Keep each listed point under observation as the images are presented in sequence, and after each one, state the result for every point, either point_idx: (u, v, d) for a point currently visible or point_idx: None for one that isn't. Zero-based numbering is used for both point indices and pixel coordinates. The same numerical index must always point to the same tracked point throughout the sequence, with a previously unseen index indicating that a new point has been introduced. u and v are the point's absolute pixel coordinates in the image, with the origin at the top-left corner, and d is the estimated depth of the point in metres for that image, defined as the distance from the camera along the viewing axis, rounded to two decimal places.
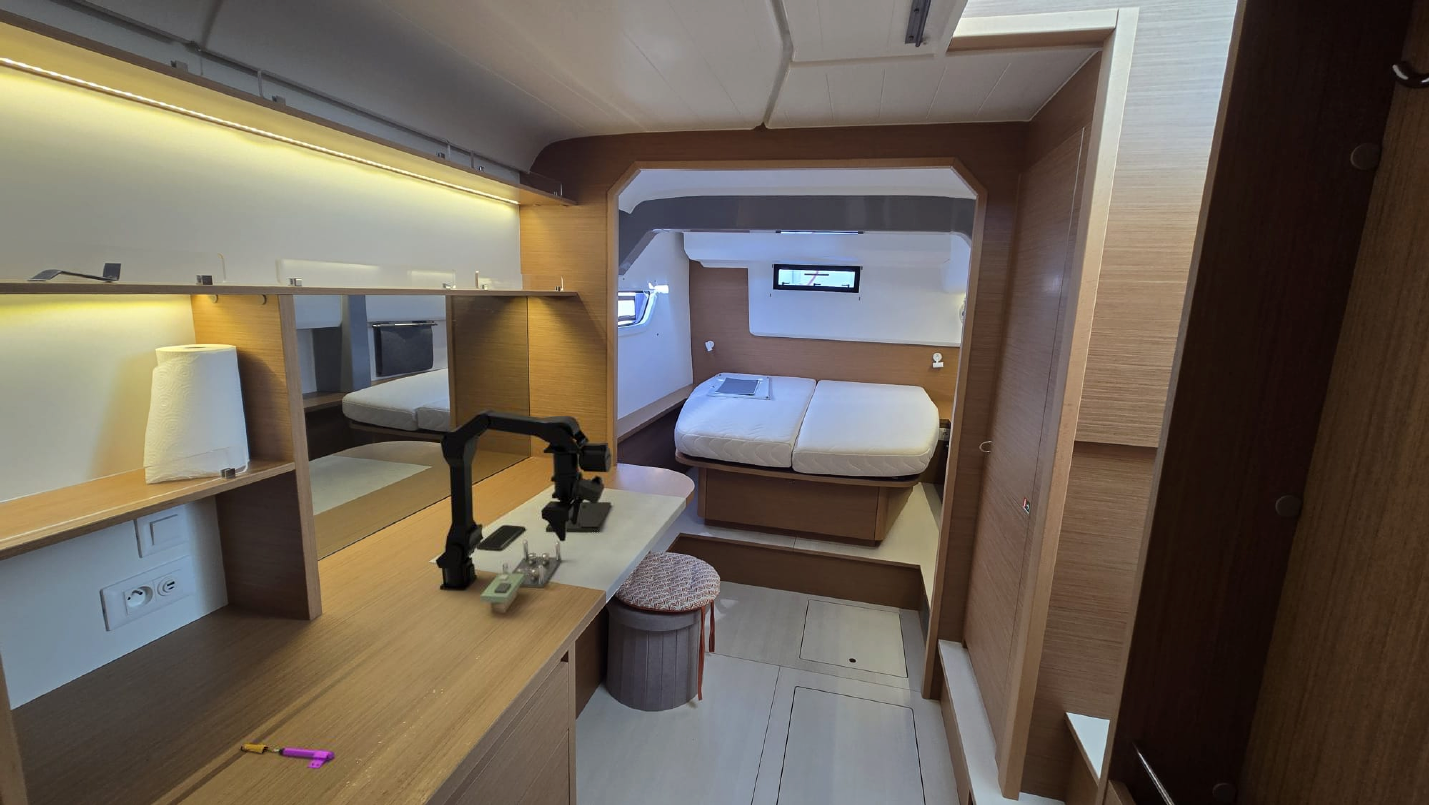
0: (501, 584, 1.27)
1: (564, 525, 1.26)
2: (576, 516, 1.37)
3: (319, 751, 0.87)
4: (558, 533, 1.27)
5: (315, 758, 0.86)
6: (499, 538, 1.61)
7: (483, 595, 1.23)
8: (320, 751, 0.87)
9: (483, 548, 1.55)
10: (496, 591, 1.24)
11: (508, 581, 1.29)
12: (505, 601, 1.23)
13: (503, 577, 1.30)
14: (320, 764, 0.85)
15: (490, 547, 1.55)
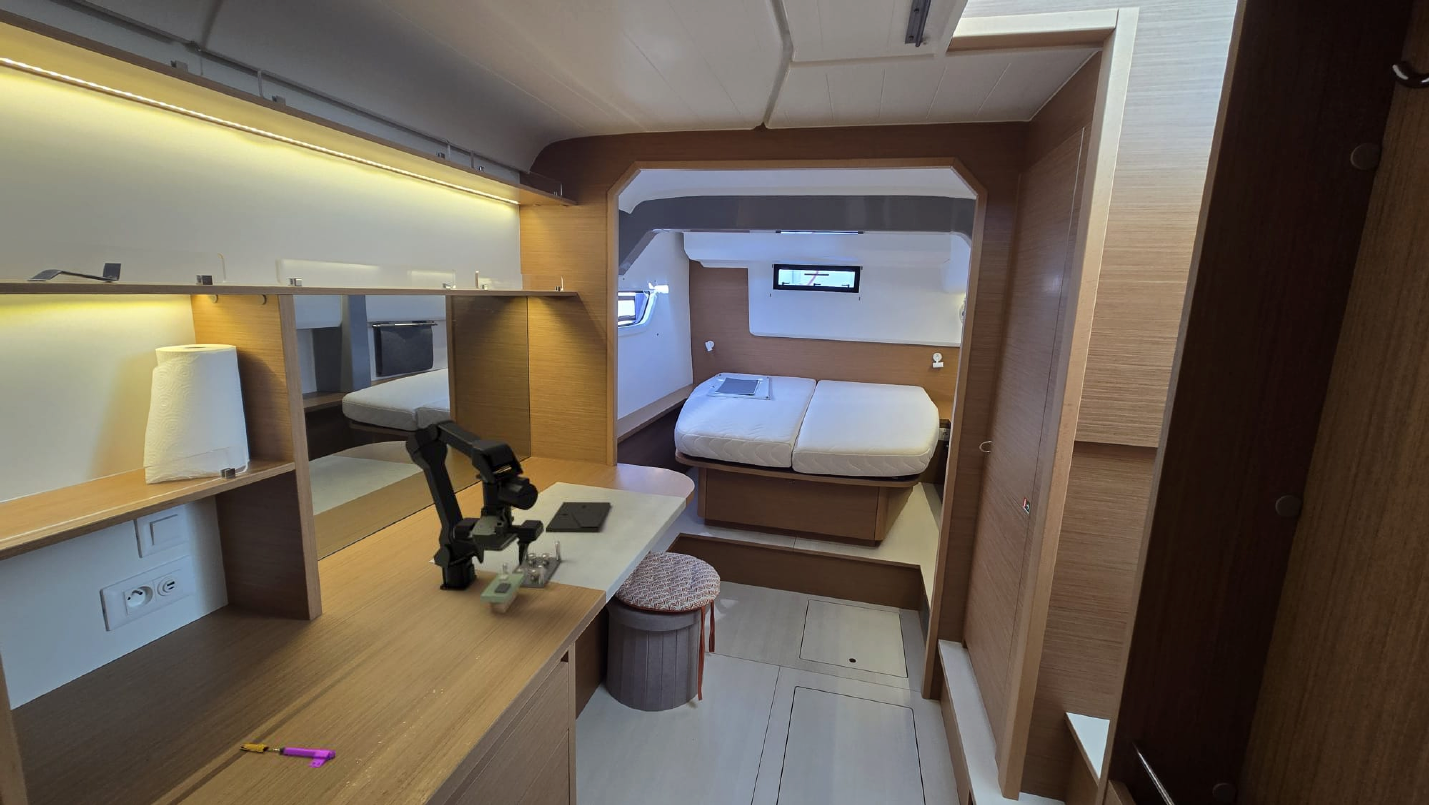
0: (501, 584, 1.27)
1: None
2: None
3: (320, 750, 0.87)
4: None
5: (316, 757, 0.86)
6: None
7: (483, 595, 1.23)
8: (321, 750, 0.87)
9: None
10: (496, 591, 1.24)
11: (508, 581, 1.29)
12: (505, 601, 1.23)
13: (503, 577, 1.30)
14: (321, 763, 0.85)
15: (490, 547, 1.55)
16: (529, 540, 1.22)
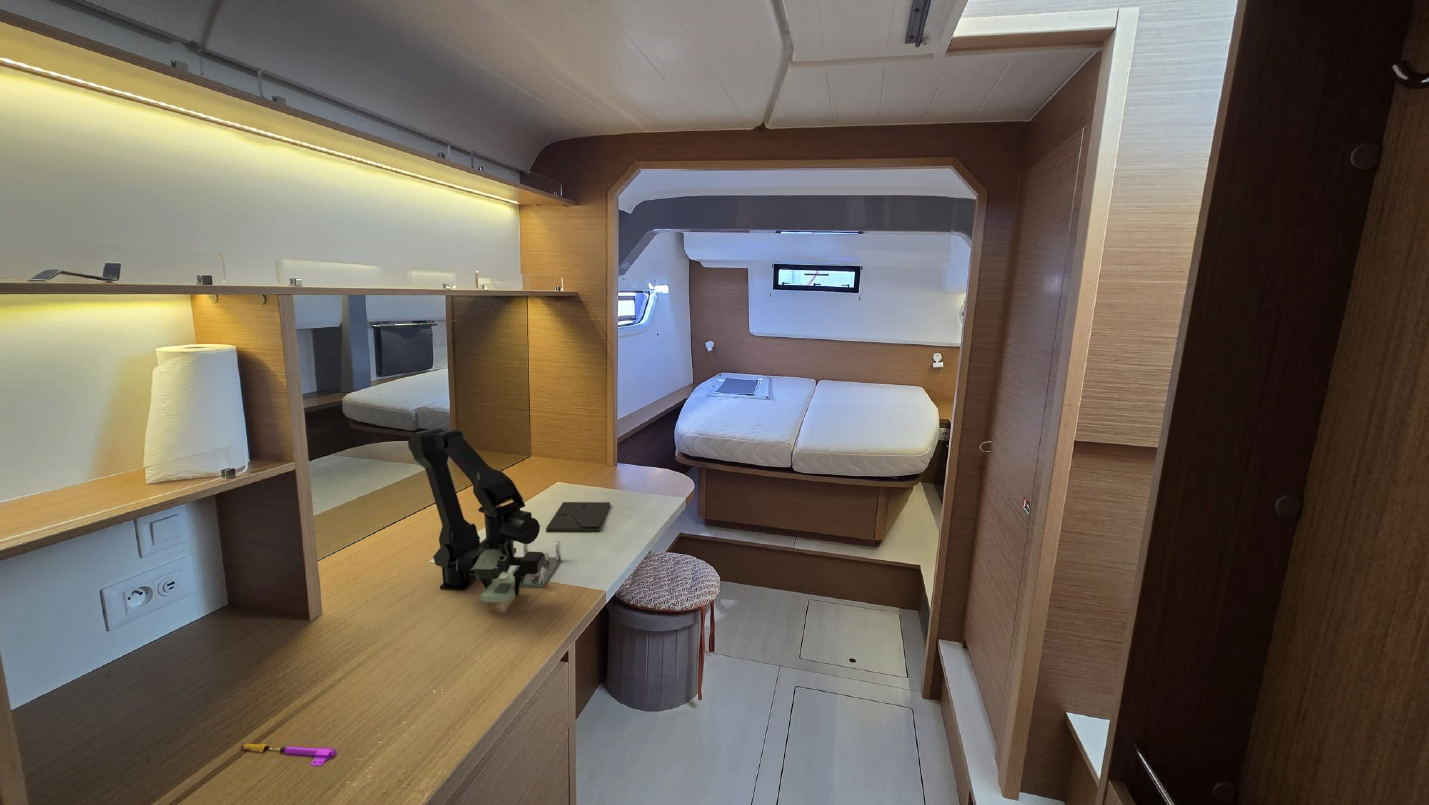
0: (501, 584, 1.27)
1: None
2: None
3: (321, 749, 0.87)
4: None
5: (317, 756, 0.86)
6: None
7: (483, 595, 1.23)
8: (322, 749, 0.87)
9: None
10: (496, 591, 1.24)
11: (508, 581, 1.29)
12: (505, 601, 1.23)
13: (503, 577, 1.30)
14: (322, 761, 0.86)
15: None
16: (531, 573, 1.24)
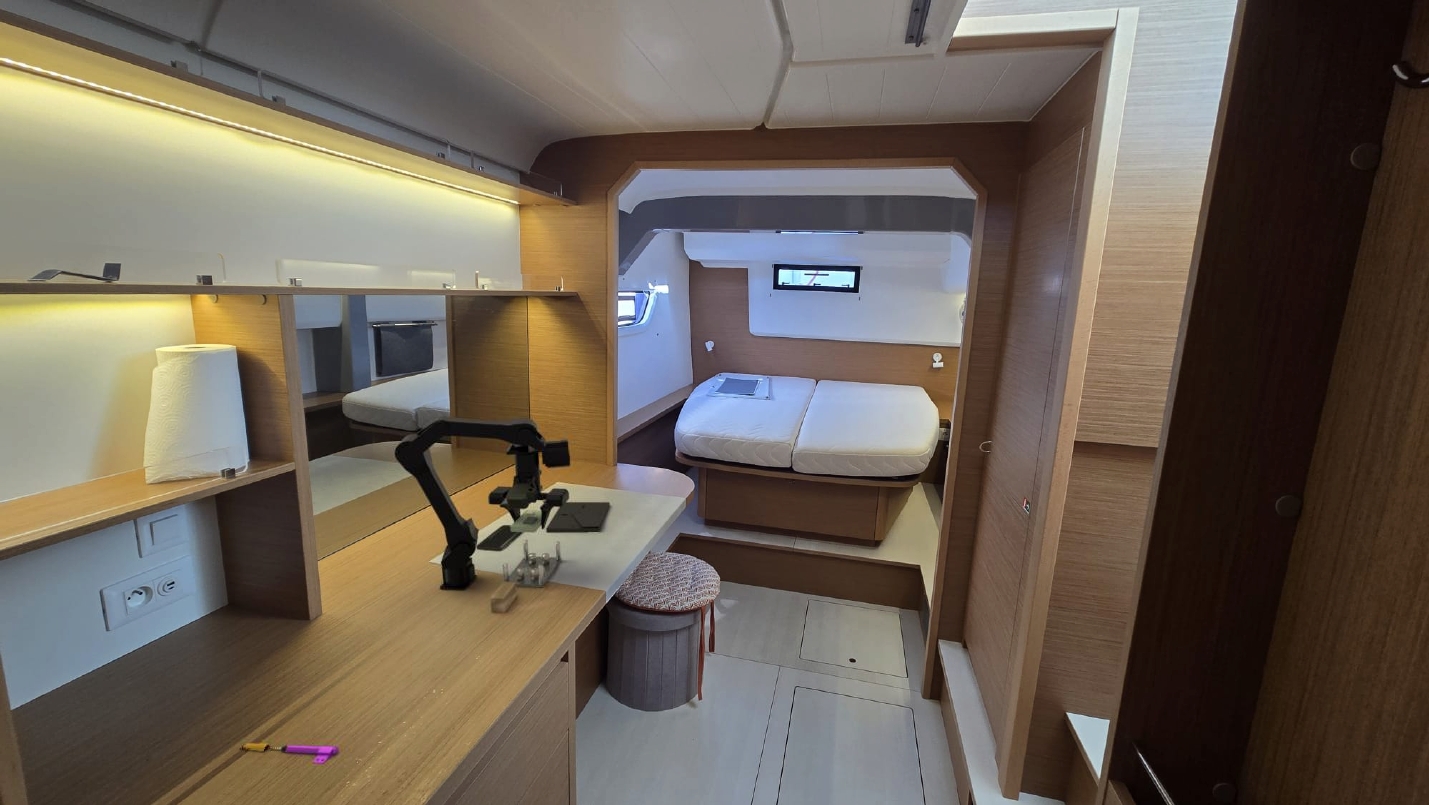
0: (529, 517, 1.39)
1: None
2: None
3: (323, 747, 0.88)
4: None
5: (319, 754, 0.87)
6: (499, 538, 1.61)
7: (513, 525, 1.35)
8: (324, 747, 0.88)
9: (483, 548, 1.55)
10: (524, 522, 1.36)
11: (535, 516, 1.41)
12: (533, 531, 1.35)
13: (530, 512, 1.42)
14: (325, 759, 0.86)
15: (490, 547, 1.55)
16: (557, 505, 1.35)
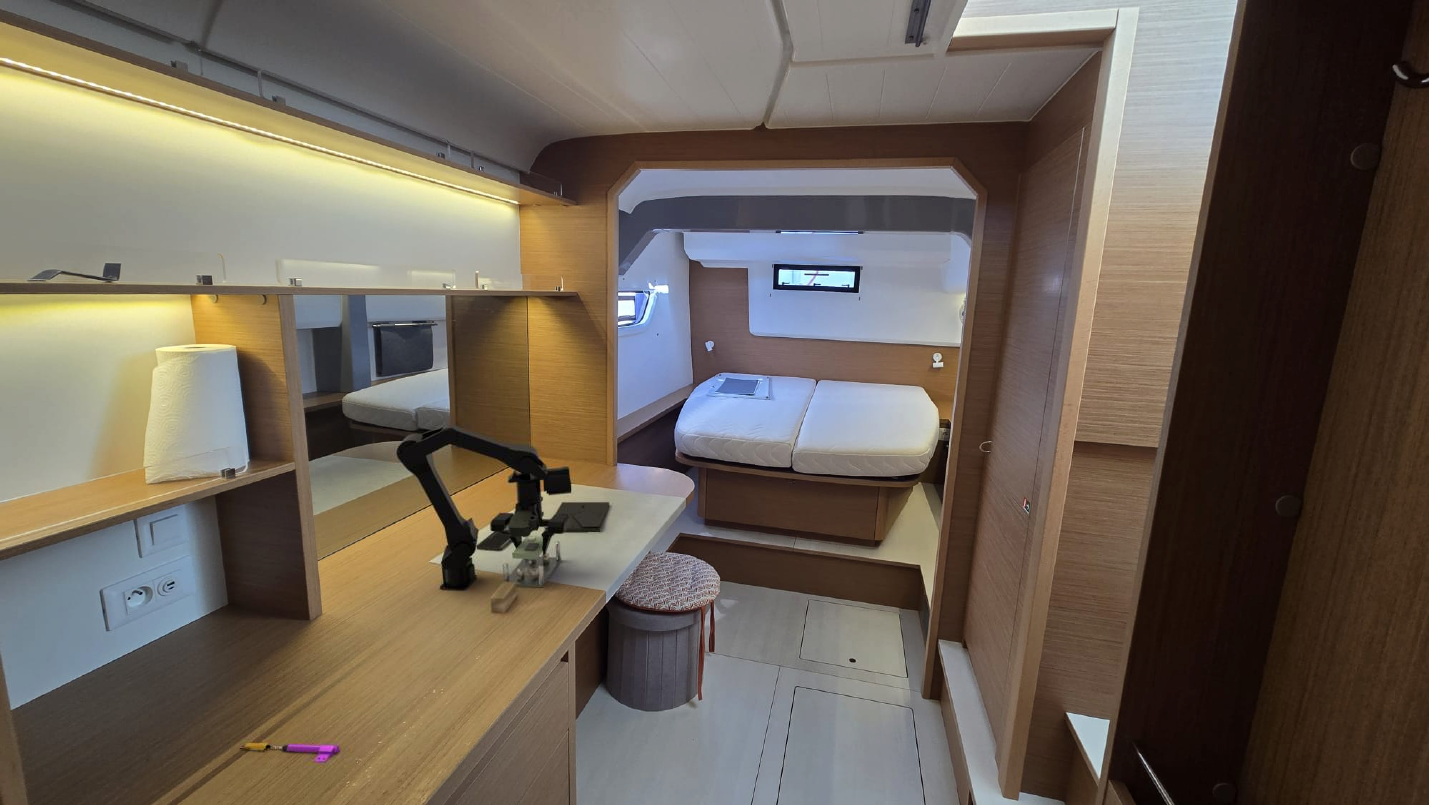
0: (530, 544, 1.40)
1: None
2: None
3: (324, 745, 0.88)
4: None
5: (321, 752, 0.87)
6: (499, 538, 1.61)
7: (514, 552, 1.37)
8: (325, 745, 0.88)
9: (483, 548, 1.55)
10: (526, 549, 1.38)
11: (536, 542, 1.43)
12: (534, 558, 1.37)
13: (531, 538, 1.44)
14: (326, 758, 0.86)
15: (490, 547, 1.55)
16: (558, 532, 1.37)
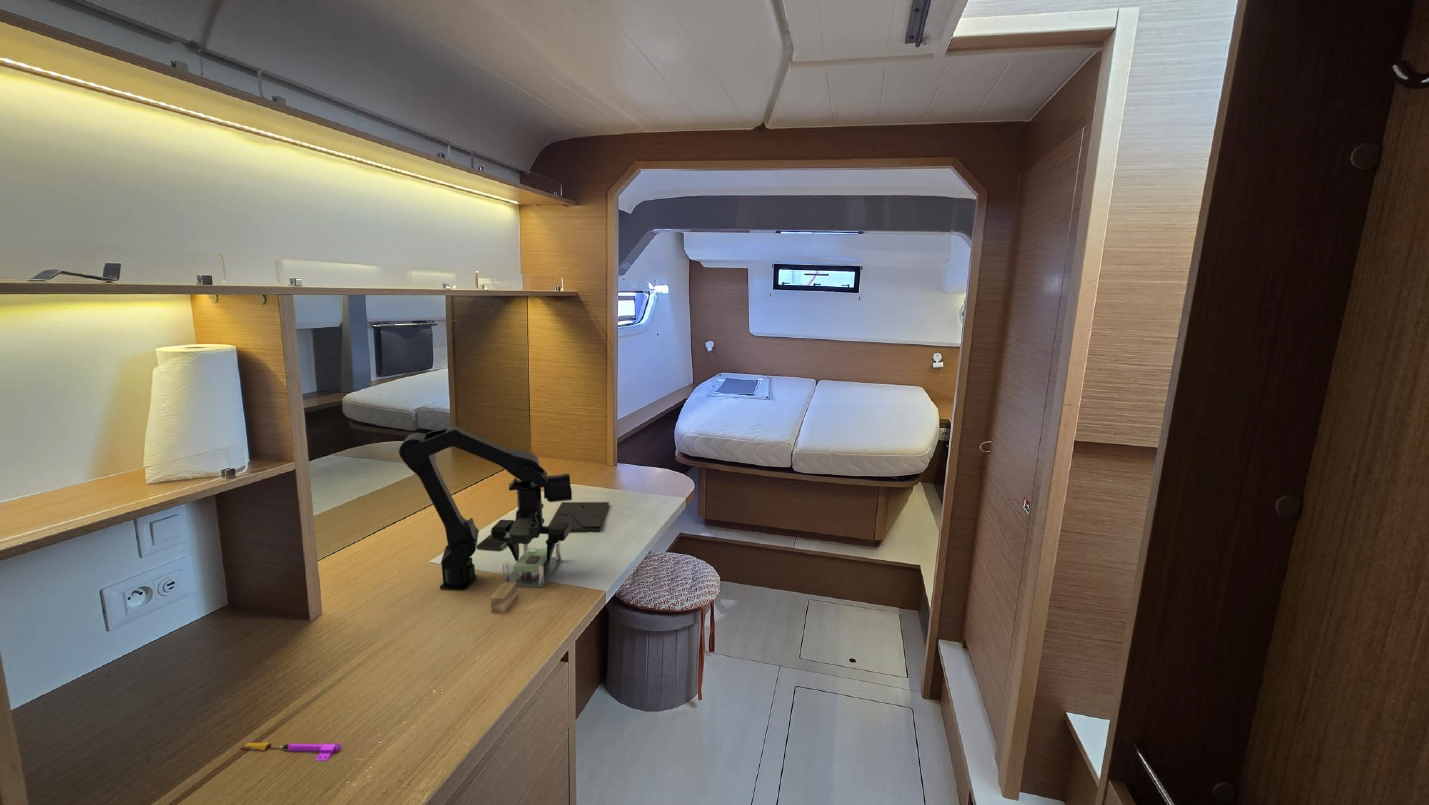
0: (531, 556, 1.41)
1: None
2: None
3: (325, 744, 0.88)
4: None
5: (322, 751, 0.87)
6: None
7: (515, 565, 1.38)
8: (326, 744, 0.88)
9: (483, 548, 1.55)
10: (527, 562, 1.39)
11: (537, 554, 1.44)
12: (535, 571, 1.37)
13: (532, 551, 1.44)
14: (328, 756, 0.87)
15: (490, 547, 1.55)
16: (558, 539, 1.37)
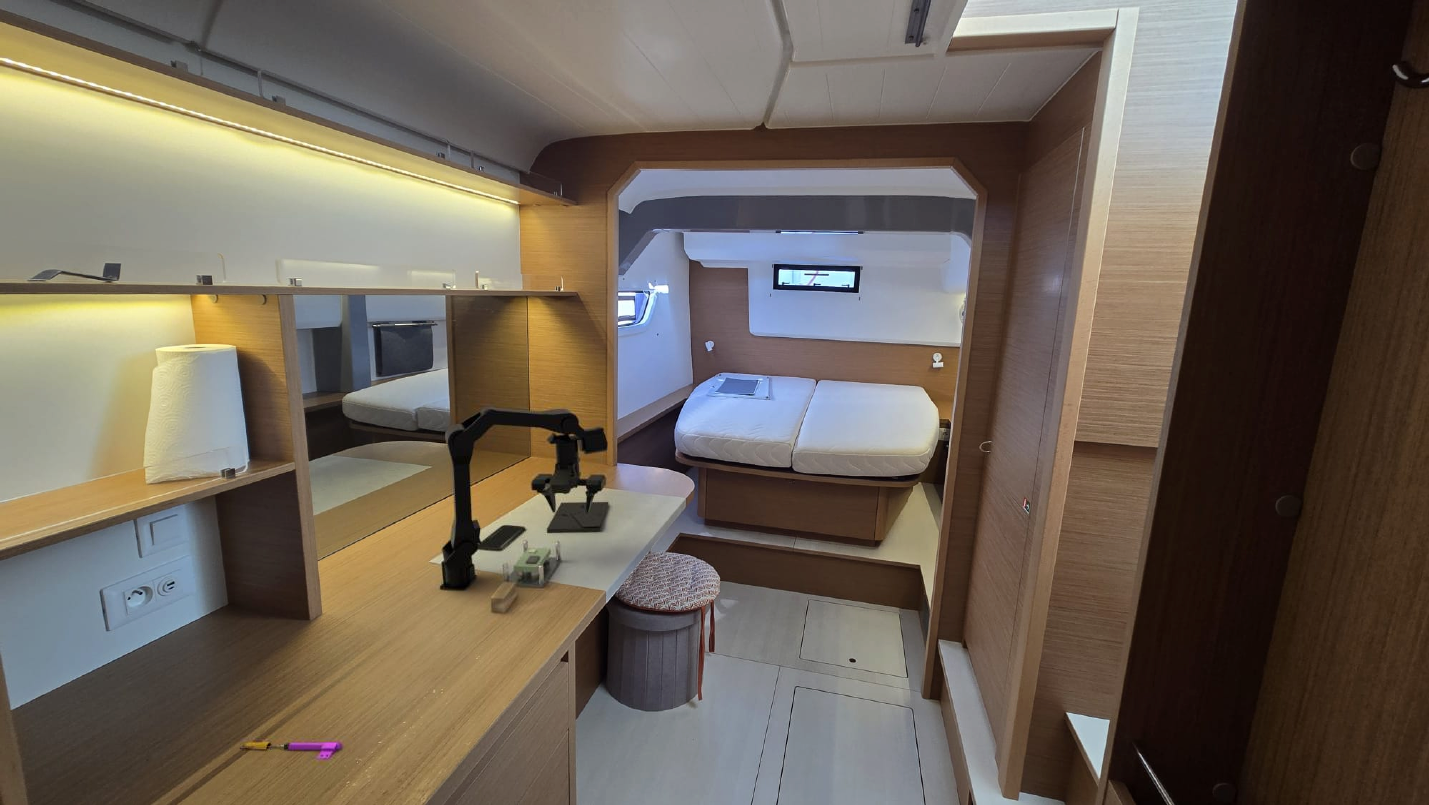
0: (531, 556, 1.41)
1: None
2: (586, 506, 1.48)
3: (327, 743, 0.88)
4: None
5: (323, 749, 0.88)
6: (499, 538, 1.61)
7: (515, 565, 1.38)
8: (328, 743, 0.88)
9: (483, 548, 1.55)
10: (527, 562, 1.39)
11: (537, 554, 1.44)
12: (535, 571, 1.37)
13: (532, 551, 1.44)
14: (329, 755, 0.87)
15: (490, 547, 1.55)
16: (596, 490, 1.44)
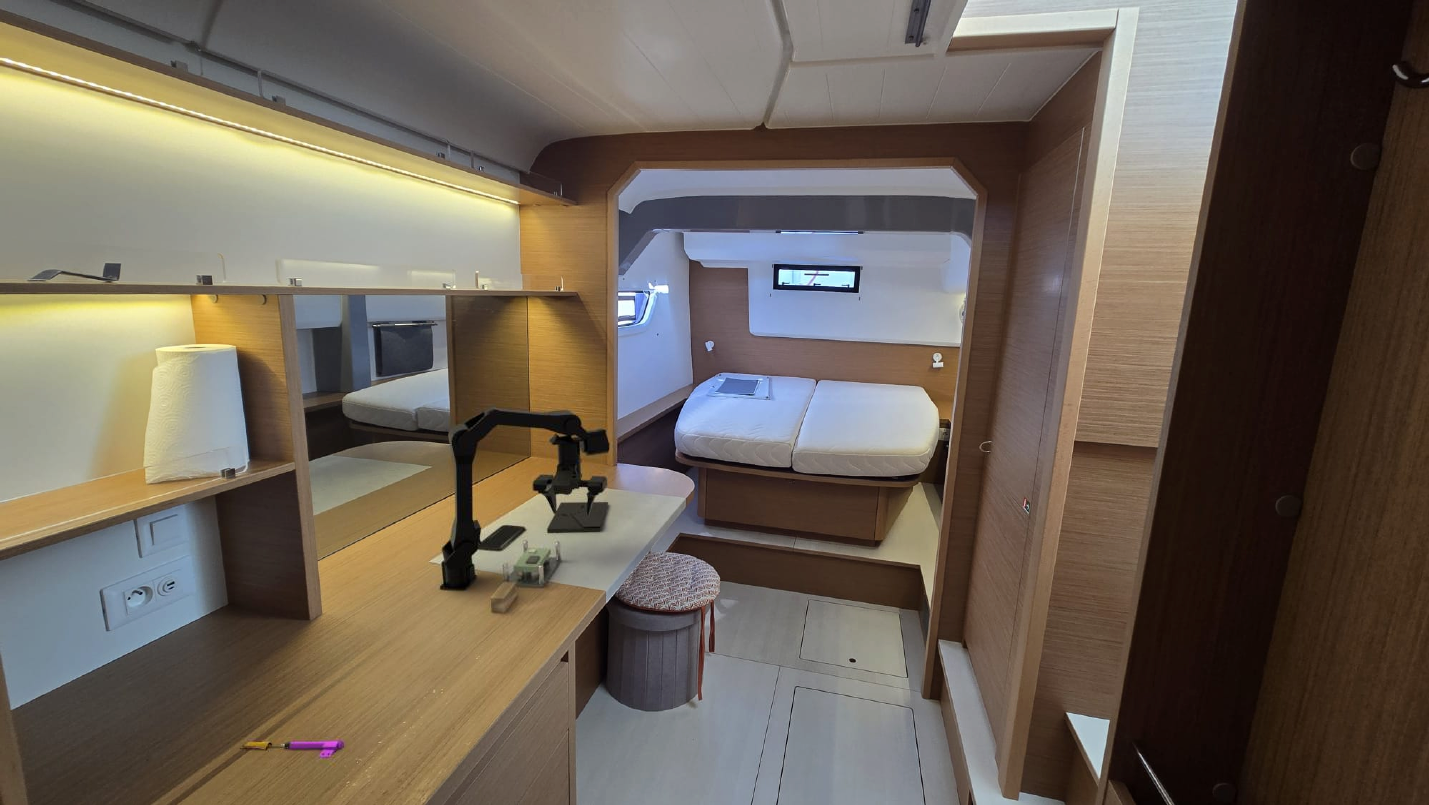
0: (531, 556, 1.41)
1: None
2: (587, 507, 1.48)
3: (328, 741, 0.89)
4: None
5: (325, 748, 0.88)
6: (499, 538, 1.61)
7: (515, 565, 1.38)
8: (329, 741, 0.89)
9: (483, 548, 1.55)
10: (527, 562, 1.39)
11: (537, 554, 1.44)
12: (535, 571, 1.37)
13: (532, 551, 1.44)
14: (331, 753, 0.87)
15: (490, 547, 1.55)
16: (597, 491, 1.45)
